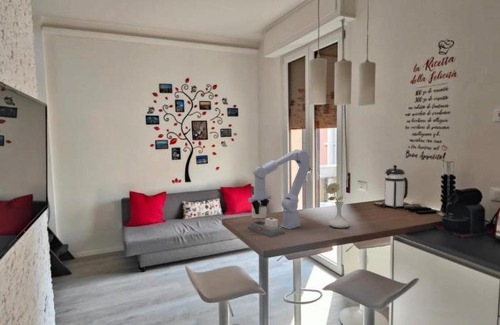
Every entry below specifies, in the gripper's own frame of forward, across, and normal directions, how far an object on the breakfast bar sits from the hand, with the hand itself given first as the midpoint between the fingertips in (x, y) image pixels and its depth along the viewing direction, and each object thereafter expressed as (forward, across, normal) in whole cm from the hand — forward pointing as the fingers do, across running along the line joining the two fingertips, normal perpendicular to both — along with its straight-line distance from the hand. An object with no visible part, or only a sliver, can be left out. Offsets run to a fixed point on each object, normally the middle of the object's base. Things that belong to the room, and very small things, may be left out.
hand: (260, 213), depth 178 cm
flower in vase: (+9, -37, +24) cm, 45 cm away
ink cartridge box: (+9, -16, -20) cm, 27 cm away
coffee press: (+9, -109, +18) cm, 111 cm away
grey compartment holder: (+9, 0, +5) cm, 10 cm away
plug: (+2, 0, 0) cm, 2 cm away
